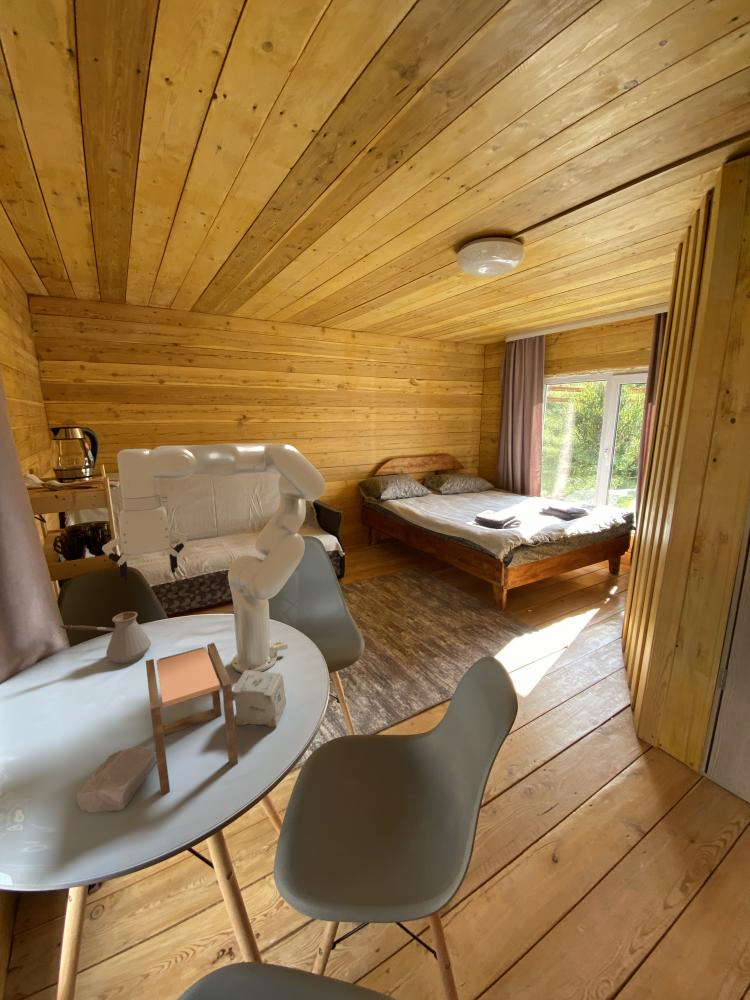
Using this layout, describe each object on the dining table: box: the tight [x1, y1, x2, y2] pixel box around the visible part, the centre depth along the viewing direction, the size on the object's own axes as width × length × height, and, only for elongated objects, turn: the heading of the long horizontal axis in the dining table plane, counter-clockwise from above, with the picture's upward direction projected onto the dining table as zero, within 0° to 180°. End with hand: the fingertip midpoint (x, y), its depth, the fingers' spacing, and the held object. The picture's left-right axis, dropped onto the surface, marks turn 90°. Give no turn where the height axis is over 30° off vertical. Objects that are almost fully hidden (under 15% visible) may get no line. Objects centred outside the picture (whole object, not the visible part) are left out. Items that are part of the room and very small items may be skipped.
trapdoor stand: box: [145, 642, 239, 796], centre depth 86 cm, size 14×18×18 cm
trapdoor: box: [156, 646, 221, 708], centre depth 86 cm, size 10×18×3 cm, turn 31°
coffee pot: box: [58, 611, 152, 664], centre depth 119 cm, size 21×12×15 cm, turn 130°
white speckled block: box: [232, 670, 287, 728], centre depth 96 cm, size 10×8×10 cm
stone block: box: [76, 748, 157, 813], centre depth 79 cm, size 12×5×10 cm
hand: (150, 575), depth 97 cm, fingers open, 9 cm apart
